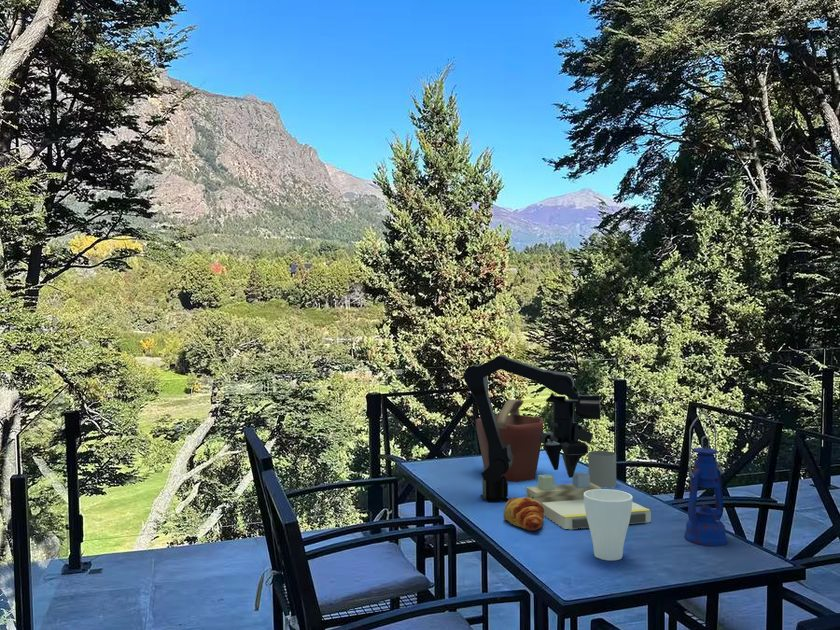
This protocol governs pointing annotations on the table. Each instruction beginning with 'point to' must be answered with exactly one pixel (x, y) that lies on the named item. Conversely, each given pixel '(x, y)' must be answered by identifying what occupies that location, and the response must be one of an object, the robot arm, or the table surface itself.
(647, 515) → the dock
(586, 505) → the cup
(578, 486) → the blue-grey cube
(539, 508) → the croissant
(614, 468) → the cup
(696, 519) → the lantern
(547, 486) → the grey-green cube
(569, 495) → the wooden block
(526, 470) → the bucket
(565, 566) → the table surface
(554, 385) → the robot arm
